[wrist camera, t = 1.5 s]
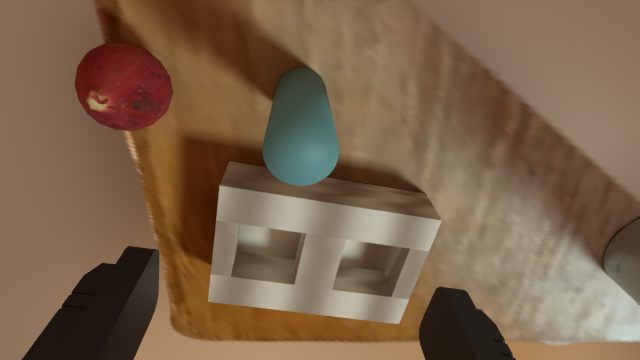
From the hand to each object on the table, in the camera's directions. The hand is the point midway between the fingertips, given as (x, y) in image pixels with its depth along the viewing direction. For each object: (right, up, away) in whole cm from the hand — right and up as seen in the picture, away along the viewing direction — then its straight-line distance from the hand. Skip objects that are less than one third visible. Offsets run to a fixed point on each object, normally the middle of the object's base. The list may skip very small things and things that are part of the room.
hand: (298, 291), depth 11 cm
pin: (-1, +10, +20) cm, 22 cm away
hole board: (0, -2, +26) cm, 26 cm away
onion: (-13, +11, +19) cm, 25 cm away
